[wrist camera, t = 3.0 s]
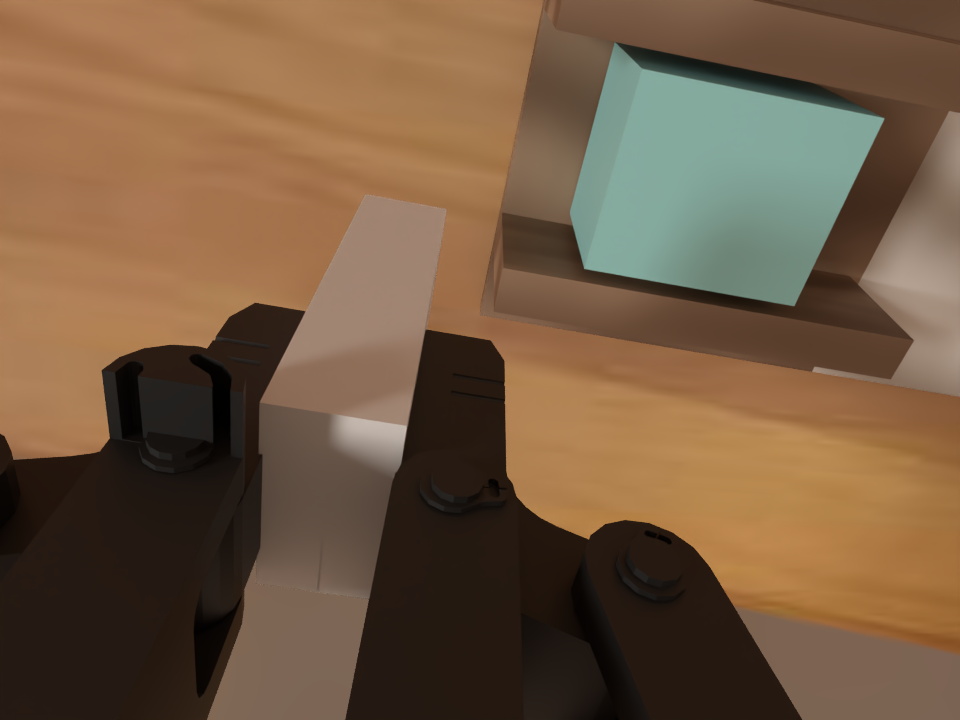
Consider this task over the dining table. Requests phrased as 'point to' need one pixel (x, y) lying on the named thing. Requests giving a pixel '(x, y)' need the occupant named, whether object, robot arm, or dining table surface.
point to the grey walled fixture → (857, 229)
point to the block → (714, 174)
